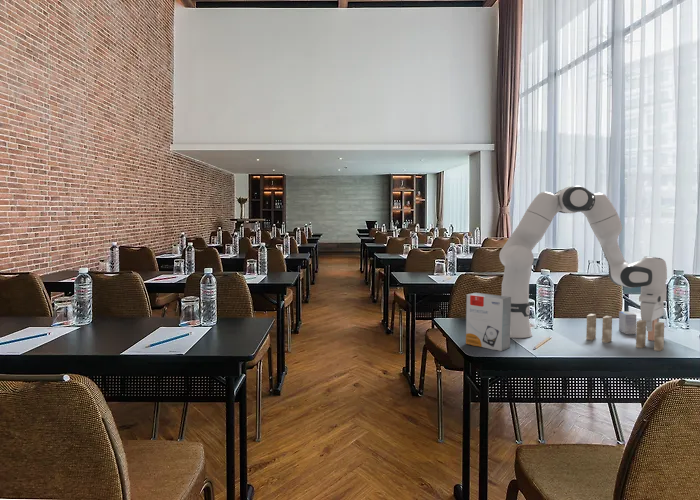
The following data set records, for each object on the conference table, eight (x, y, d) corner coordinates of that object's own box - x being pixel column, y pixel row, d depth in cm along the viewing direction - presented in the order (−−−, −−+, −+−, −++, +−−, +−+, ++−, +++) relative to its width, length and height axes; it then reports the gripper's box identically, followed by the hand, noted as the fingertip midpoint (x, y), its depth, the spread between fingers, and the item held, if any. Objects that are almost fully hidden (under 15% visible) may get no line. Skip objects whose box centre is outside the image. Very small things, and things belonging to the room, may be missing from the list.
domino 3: (635, 347, 181) (636, 321, 180) (639, 345, 184) (640, 319, 184) (641, 348, 179) (642, 322, 179) (645, 345, 183) (646, 320, 182)
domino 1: (586, 339, 194) (586, 315, 193) (590, 337, 197) (591, 313, 197) (591, 340, 192) (592, 316, 192) (595, 338, 196) (596, 314, 195)
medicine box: (636, 334, 202) (637, 314, 202) (625, 334, 203) (625, 314, 203) (629, 330, 210) (629, 311, 209) (618, 330, 211) (619, 311, 210)
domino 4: (647, 339, 193) (648, 315, 192) (650, 337, 196) (651, 314, 196) (653, 340, 191) (654, 316, 191) (656, 338, 195) (657, 314, 194)
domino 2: (602, 341, 189) (602, 317, 189) (606, 339, 193) (606, 315, 192) (607, 342, 188) (608, 318, 187) (611, 340, 191) (612, 316, 191)
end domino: (654, 350, 176) (654, 323, 176) (657, 347, 180) (658, 321, 179) (660, 351, 175) (661, 324, 175) (663, 348, 179) (664, 322, 178)
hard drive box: (464, 344, 186) (465, 294, 185) (474, 341, 191) (475, 292, 190) (501, 351, 175) (502, 298, 174) (510, 347, 180) (511, 296, 180)
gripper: (651, 292, 202) (650, 324, 203) (637, 297, 188) (636, 331, 189) (668, 294, 198) (667, 326, 199) (656, 299, 184) (655, 334, 184)
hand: (652, 329), depth 193 cm, fingers open, 8 cm apart
